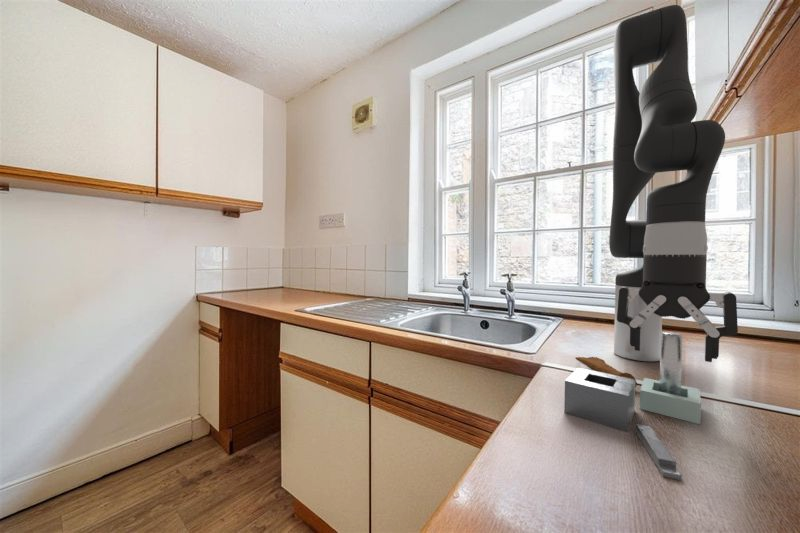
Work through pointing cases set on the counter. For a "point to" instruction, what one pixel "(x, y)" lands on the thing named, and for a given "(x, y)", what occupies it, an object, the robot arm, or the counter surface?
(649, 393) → the box
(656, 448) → the bar
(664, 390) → the peg
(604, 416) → the socket
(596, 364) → the primitive tool
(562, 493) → the counter surface
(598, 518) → the counter surface
